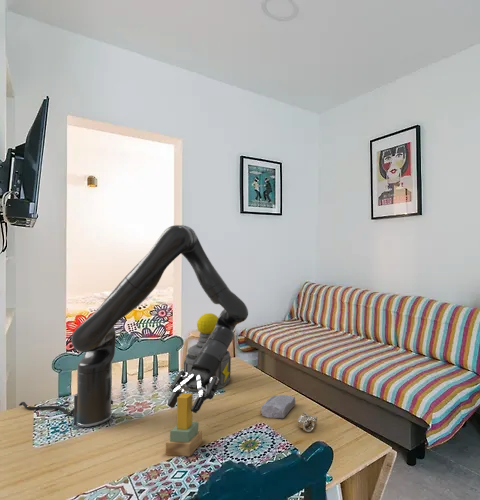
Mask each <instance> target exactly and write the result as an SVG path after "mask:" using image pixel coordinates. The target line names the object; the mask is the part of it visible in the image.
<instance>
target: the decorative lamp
mask: <svg viewBox="0 0 480 500" xmlns="http://www.w3.org/2000/svg"><path fill="white" fill-rule="evenodd" d="M218 317H219V316H217V315H216V314H215V313H212V312H206V313H204V314H202V315H201V316H200V317H199V318H198V319H197V321H196V328H197V331H198V332H199V334H198V335H199V337H198V338H197V343H196V344H193V345H192V346H189V348H188V349H187V354H186V355H185V357H184V358H185V359H184V360H183V371H184V372H186V373H189V372H190V371H191V369H192V364H193V362H194V361H195V359H196V357H197V356H198V354H199V352H200V350H201V349H202V347H203V346H204V344H205V343H206V342H207V340H208V338H209V337H210V335H211V333H212V332H213V330H214V329H215V325H216V322H217V320H218ZM231 365H232V356H231V353H230V351H229V350H227V351H226V354H225V356H224V358H223V360H222V362H221V364H220V366H219V368H218V370H217V372H216V374H215V375H214V376H216V377H217V378H218V379H219V380H220V383H219V385H218V387H217V389H216V390H219V389H222V388H225V386H226V385H228V384H229V382H230V379H231V373H232V372H231V370H232V369H231V367H232V366H231ZM214 376H212V377H214ZM185 385H186V386H187V383H186V384H185ZM209 385H210V383H209V384H207V389H208V387H209ZM188 391H191V392H195V393H196V392H197V393H199V391H198V390H196V389H194V390H192V389H189V390H188Z"/></svg>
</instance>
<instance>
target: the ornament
mask: <svg viewBox="0 0 480 500" xmlns="http://www.w3.org/2000/svg"><path fill="white" fill-rule="evenodd" d="M296 422H297V424H296V425H297V427H299V429H300V428H301V429H302V430H303V431H304V432H305V433H310V432H312V431H313V429H315V425H316V424H317V423H318V416H317V415H309V414H308V413H307V412H304V411H303V414H300V416H299V417H298V418H297V420H296Z"/></svg>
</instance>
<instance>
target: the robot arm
mask: <svg viewBox="0 0 480 500" xmlns="http://www.w3.org/2000/svg"><path fill="white" fill-rule="evenodd" d="M180 255H182V256H183V257H184V258H185V260H187V262H188V263H189V265H190V266H191V268H192V269H193V272H194V274H195V277H196V279H197V282H198V283H199V285H200V286H201V288H202V290H203V292H205V295H206V296H207V297H208V299H209V300H210V301H211V302H212V303H213V304H214V305H219V306H220V307H222V308H223V310H222V311H221V312H220V314H219V315H218V316H217V317H218V320H217V322H216V325H215V329H214V330H213V332H212V333H211V335H210V337H209V338H208V340H207V342H206V343H205V344H204V346H203V347H202V349H201V350H200V352H199V354H198V356H197V357H196V359H195V361H194V362H193V364H192V369H191V371H190V372H189V373H186V372H184V369H183V370H180V371H179V373H178V374H177V375H176V377H175V379H174V380H173V381H172V383H171V385H170V387H169V389H170V390H171V391H172V394H171V396H170V397H169V399H168V401H167V406H168V407H169V408H171V409H174V408H175V406H176V405H177V397H179V396H180V395H181V394H183V393H185V392H188V391H190V390H189V389H192V390H194V389H196V390H198V391H199V392H198V396H197V397H196V399H195V400H194V402H193V403H192V408H191V411H192V414H193V413H194V414H197V413H198V412H199V411H200V410H201V407H202V406H203V404H204V402H205V401H206V400H213V398H214V396H215V393H216V391H217V390H218V389H217V387H218V385H219V383H220V380H219V379H218V378H217V377H216V376H214V375H215V374H216V372H217V370H218V368H219V366H220V364H221V362H222V360H223V358H224V356H225V354H226V351H228V349H229V347H230V345H231V343H232V342H233V340H234V337H235V333H234V330H235V328H236V326H237V325H239V324H241V323H243V322H245V321H246V320H247V318H248V317H249V310H248V307H247V305H246V303H245V302H244V301H243V300H242V299H241V298H240V297H239V296H238V295H237V294H236V293H234V292H233V291H231V289H230V288H229V287H228V285H227V283H226V282H225V280H224V279H223V278H222V276H221V275H220V274H219V272H218V270H216V268H215V266H214V265H213V263H212V262H211V260H210V258H209V257H208V255H207V254H206V252H205V250H204V248H203V246H202V244H201V242H200V239H199V238H198V235H197V234H196V232H195V230H194V229H193V228H192V227H190V226H189V225H188V226H187V225H184V224H174V225H171V226H169V227H167V228H166V229H164V231H163V232H162V233H161V235H160V236H159V238H158V239H157V240H156V241H155V243H154V244H153V246H152V247H151V249H150V250H149V251H148V252H147V254H146V255H145V256H144V257H143V258H142V259H141V260H140V261H139V262H138V263H136V265H135V266H134V267H133V268H132V269H131V270H130V271H129V272H128V273H127V275H125V276H124V278H123V279H121V281H120V282H119V283H118V284H117V286H115V288H114V289H113V290H112V291H111V292H110V294H109V295H108V296H107V297H106V298H105V299H104V301H103V303H102V304H101V305H99V307H98V308H97V309H96V310H95V311H94V312H93V313H92V314H91V315H90V316H89V317H88V318H87V319H85V320H84V321H83V322H81V324H79V325H78V326H77V327H76V328H75V330H74V331H73V333H72V336H71V345H72V347H73V349H74V350H75V351H77V352H80V353H84V354H83V356H82V358H81V359H80V360H79V361H78V363H77V369H76V370H77V371H76V373H77V374H76V375H77V379H76V383H77V385H76V387H77V388H76V393H75V394H74V396H73V408H72V409H71V410H70V412H69V410H67V409H65V408H64V407H62V406H58V405H42V406H32V405H31V406H30V405H28V404H27V403H26V401H21V402H20V403H19V404H18V406H23V407H24V408H25V409H27V410H46V409H47V410H48V409H56V410H60V411H62V412H63V413H64V414H65V415H67V416H68V417H69V416H72V417H73V424H74V425H76V426H77V427H79V428H93V427H96V426H99V425H102V424H104V423H107V422H108V421H110V420H111V419H112V417H113V415H112V406H114V400H113V399H112V392H113V391H112V389H113V388H112V387H113V386H112V384H113V383H112V382H113V380H112V379H113V377H112V375H113V373H112V372H113V371H112V369H113V360H114V358H115V353H116V339H117V337H116V328H115V325H117V323H119V321H121V320H122V319H123V318H124V317H126V316H127V315H129V313H132V311H134V310H135V309H136V308H138V306H140V305H141V304H142V303H143V302H144V301H145V300H146V299H147V298H148V297H149V296H150V294H151V293H153V291H154V290H155V289H156V287H157V285H158V284H159V283H160V280H161V279H162V276H163V274H164V273H165V271H166V269H167V268H168V267H169V266H170V264H171V263H173V261H175V259H176V258H178V257H179V256H180ZM212 376H214V377H212ZM186 383H187V386H186V385H185V384H186ZM209 383H210V385H209V387H208V389H207V384H209ZM27 406H29V407H27Z"/></svg>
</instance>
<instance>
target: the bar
mask: <svg viewBox="0 0 480 500" xmlns="http://www.w3.org/2000/svg"><path fill="white" fill-rule="evenodd" d="M193 396H194V395H193V393H185V392H183V393H182V394H181V395H180V396H179V397H177V402H176V425H177V429H188V428H189V427H190V426H191V425H192V422H193V412H192V411H191V408H192V406H193V403H194V402H193V401H194V400H193Z"/></svg>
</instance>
